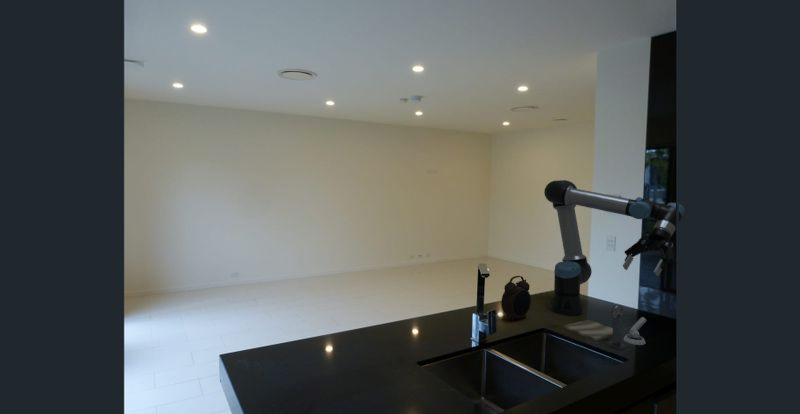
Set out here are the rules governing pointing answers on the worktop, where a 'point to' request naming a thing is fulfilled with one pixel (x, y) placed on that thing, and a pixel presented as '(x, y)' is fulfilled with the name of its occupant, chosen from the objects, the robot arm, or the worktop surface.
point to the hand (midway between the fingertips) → (639, 270)
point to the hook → (636, 333)
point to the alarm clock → (516, 298)
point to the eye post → (617, 328)
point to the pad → (590, 329)
